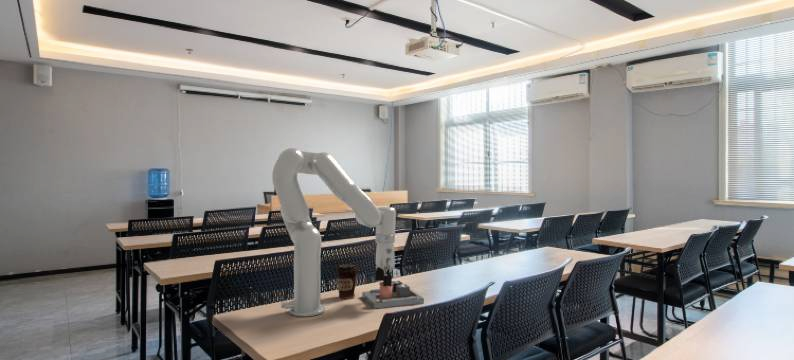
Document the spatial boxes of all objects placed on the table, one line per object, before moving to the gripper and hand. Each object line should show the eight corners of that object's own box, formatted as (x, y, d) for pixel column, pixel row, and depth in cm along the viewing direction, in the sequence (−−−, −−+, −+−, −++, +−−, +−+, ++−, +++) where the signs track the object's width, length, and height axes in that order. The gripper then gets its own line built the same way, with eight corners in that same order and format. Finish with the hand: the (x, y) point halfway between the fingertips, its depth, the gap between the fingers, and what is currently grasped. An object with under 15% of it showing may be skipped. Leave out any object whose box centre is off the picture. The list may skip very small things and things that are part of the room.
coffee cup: (353, 301, 177) (353, 268, 177) (333, 299, 179) (333, 267, 178) (359, 295, 185) (359, 263, 185) (340, 293, 187) (340, 263, 187)
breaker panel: (374, 308, 167) (374, 292, 167) (362, 296, 183) (362, 281, 183) (423, 303, 174) (423, 287, 173) (407, 292, 190) (407, 277, 189)
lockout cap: (381, 301, 170) (381, 285, 170) (377, 297, 175) (377, 282, 174) (394, 299, 171) (394, 284, 171) (390, 296, 176) (390, 281, 176)
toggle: (400, 297, 173) (399, 287, 173) (396, 295, 177) (396, 284, 176) (409, 296, 174) (409, 286, 174) (405, 294, 178) (405, 284, 178)
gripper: (401, 242, 167) (400, 287, 167) (387, 235, 183) (385, 277, 183) (382, 242, 164) (380, 288, 164) (369, 235, 180) (367, 278, 180)
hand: (383, 282), depth 174 cm, fingers open, 9 cm apart
